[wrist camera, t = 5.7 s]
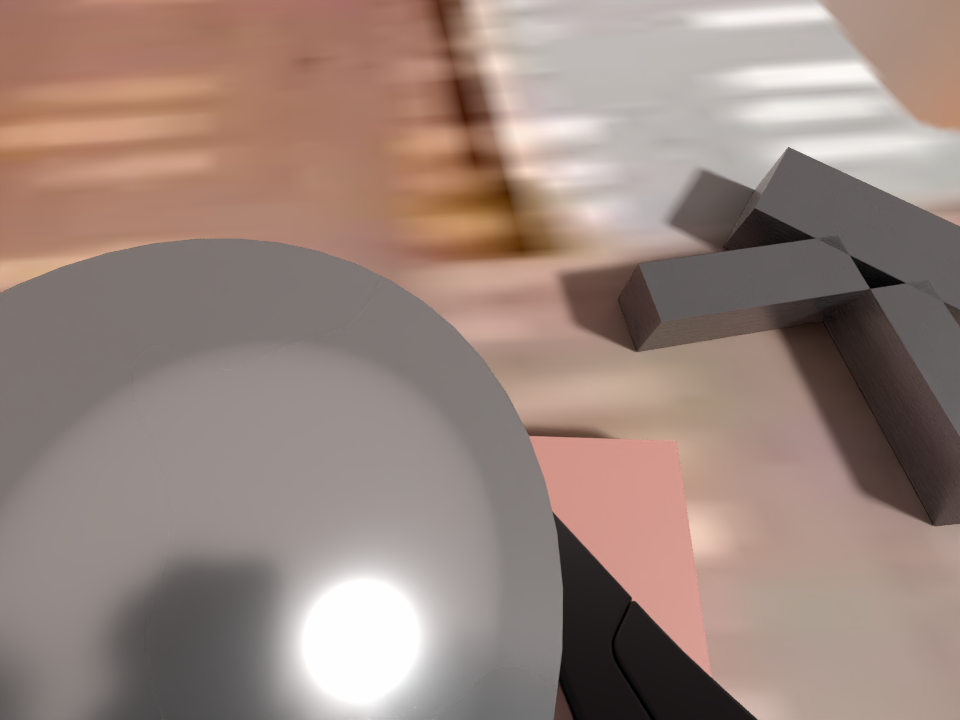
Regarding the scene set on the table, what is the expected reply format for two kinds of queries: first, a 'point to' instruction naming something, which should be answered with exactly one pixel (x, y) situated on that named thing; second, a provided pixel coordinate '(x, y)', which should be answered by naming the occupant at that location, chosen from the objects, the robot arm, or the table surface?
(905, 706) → the table surface
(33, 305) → the axle
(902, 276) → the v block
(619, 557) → the beam plate
